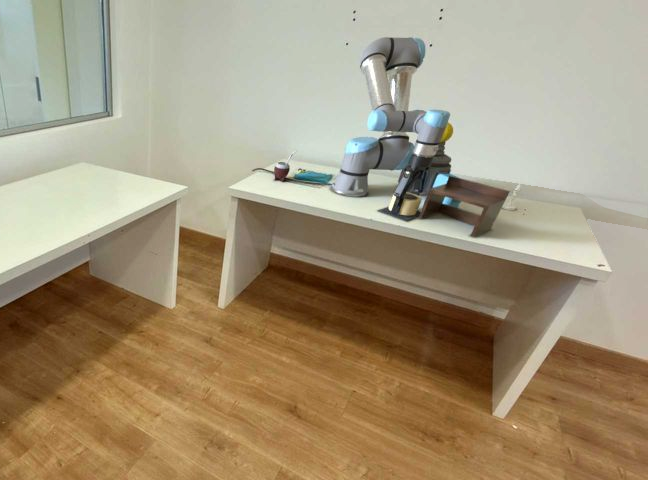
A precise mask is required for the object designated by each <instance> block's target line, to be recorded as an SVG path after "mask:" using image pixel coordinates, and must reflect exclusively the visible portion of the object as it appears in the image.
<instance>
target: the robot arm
mask: <svg viewBox="0 0 648 480" xmlns="http://www.w3.org/2000/svg"><path fill="white" fill-rule="evenodd" d="M425 57H426V43H425V41H424V40H423V39H421V38H419V37H413V36H412V37H411V36H410V37H409V36H408V37H388V36H385V37H380V38H377V39H375V40H373V41H372V42H371V43H370V44H368V45H367V47H366V48H365V49H364V50H363V52H362V54H361V56H360V58H359V59H360V60H359V69H360V72H361V74H362V75H364V79H365V84H366V89H367V92H368V97H369V102H370V107H371V112H370V113H369V115H368V117H367V124H366V125H367V129H368V130H369V131H372V132H379V133H381V132H382V135H380V136H379V137H378V138H377V137H373V136H369V137H368V136H359V137H354V138H351V139H349V141H348V142H347V144H346V147H345V149H344V154H343V158H342V162H341V164H340V165H341V166H340V169H339V173H338V174H337V176H336V178H334V180H333V182H332V183H329V182H313V181H304V180H297V179H293V178H289V177H286V178H285V179H286V180H287V181H291V182H294V183H301V184H308V185H321V186H324V185H325V186H331V187H330V189H331V191H332V192H334V193H335V194H338V195H341V196H345V197H355V198H357V197H358V198H359V197H360V198H361V197H364V196H366V195H367V194H368V191H369V180H368V177H369V173H370V170H378V171H381V170H382V171H402V169H404V168H405V167H406V166H407V165H408V164H410V165H411V168H410V170H409V171H404V174H403V177H402V179H401V181H400V183H399V185H398V184H397V187H396V189H395V191H394V193H393V194H394V196H396V199H395V202H394V204H393V207H392V210H391V212H393V213H396V214H398V213H399V211H400V208H401V205H402V203H403V200H404V198H403V197H404V195H405V194H406V193H408V192H407V190H408V189H409V187H410V186H411V184H412V183H414V187H413V191H412V192H411V193H412V194H415V195H418V196H420V195H419V193H422V192H423V191H422V190H424V187H425V183H426V179H427V175H428V172H429V169H430V166H431V164H432V161H433V159H434V157H433V156H434V155H435V153H436V151H437V150H438V146H439V143H440V141H441V139H442V136H443V134H444V131H445V129H446V126H447V125H448V123H449V120H450V117H451V112H449V111H448V110H443V109H428V110H427V111H426V110H422V109H413V110H409V106H410V99H411V98H410V97H411V89H412V79H413V75H415V73H416V72H417V71H418V69H419V68H420V67H421V66H422V64H423V62H424V59H425ZM407 133H415V134H417V138H416V140H415V142H414V143H413V142H412V141H410V135H409V134H407ZM258 170H259V171H264V172H267V173H271V174H274V175H275V173H274V170H269V169H266V168H263V167H257V168H254V169H252V170H251V172H256V171H258Z"/></svg>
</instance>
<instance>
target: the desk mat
mask: <svg viewBox="0 0 648 480" xmlns="http://www.w3.org/2000/svg"><path fill="white" fill-rule="evenodd" d="M377 212H379V213H381V214H385V215H388V216H390V217H393V218H395V219H398V220H401V221H404V222H409V221H412V220H414V219H416V218H418V217H419V215H420V212H421V210H420V211H419V210H417V213H416V214H415V215H411V216H407V215H400V214H396V213H393V212H391V211H390V210H389V206H387V207H384V208H381V209H378V210H377Z"/></svg>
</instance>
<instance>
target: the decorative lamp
mask: <svg viewBox="0 0 648 480" xmlns="http://www.w3.org/2000/svg"><path fill="white" fill-rule="evenodd" d="M453 134H454V127H453V125H452V124H451V123H450V122H448V125H447V126H446V129H445V131H444V134H443V136H442V139H441V141H440V143H439V146H438V150H437V151H436V153H435V155H434V156H433V157H434V159H433V161H432V164H431V166H430V169H429V172H428V175H427V179H426V183H425V187H424V190H422V191H423V192H422V193H419V195H418V196H426V197H427V195H428V192H429V190H430V189H431V188H433V185H434V183H435V180H436V178H437V176H438V175H439V174H451V171H452V164H451V162H452V157H451V156H449V155H447V154H446V153H445V150H446V146H445V145H446V142H447V141H449V140H450V139H451V138H452V137H453ZM410 168H411V165H410V164H408V165H407V166H406V167H405V168H404V169H402V170H400V171H401V172H400V174H399V177H398V180H397V186H398V185H399V183H400V181H401V179H402V177H403V174H404V171H409V170H410ZM413 187H414V183H412V184H411V186H410V187H409V189H408V190H407V192H406V193H411V192H412V191H413Z"/></svg>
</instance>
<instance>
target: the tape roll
mask: <svg viewBox="0 0 648 480" xmlns="http://www.w3.org/2000/svg"><path fill="white" fill-rule="evenodd" d="M403 198H404V200H403V203H402V205H401V208H400V211H399V213H398V214H400V215H407V216H411V215H415V214H416V213H417V211H419V208H420V206H421V203H422V199H423V198H422V197H421V195H415V194H412V193H409V192H406V194H405V195H404V197H403ZM395 199H396V196H394V193H393V194H392V197H391V199H390V203H389V205H388V207H389V210H390V211H391V210H392V207H393V204H394V202H395Z"/></svg>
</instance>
